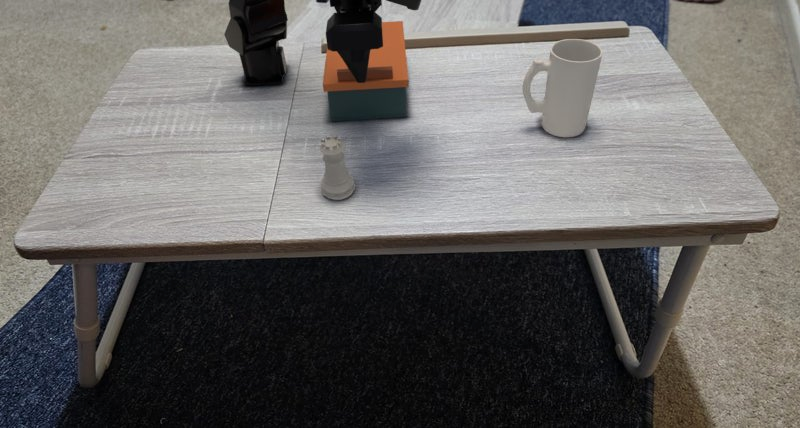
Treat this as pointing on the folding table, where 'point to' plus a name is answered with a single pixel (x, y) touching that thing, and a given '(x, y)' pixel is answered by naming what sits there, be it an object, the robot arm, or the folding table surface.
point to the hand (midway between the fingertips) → (362, 69)
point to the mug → (565, 86)
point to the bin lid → (372, 64)
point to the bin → (367, 104)
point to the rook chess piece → (335, 170)
